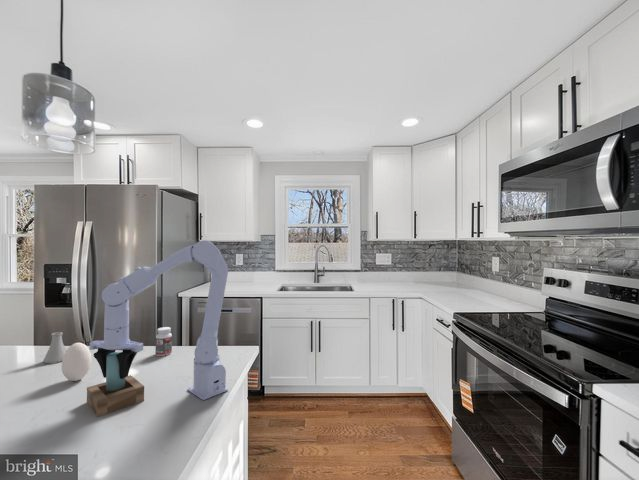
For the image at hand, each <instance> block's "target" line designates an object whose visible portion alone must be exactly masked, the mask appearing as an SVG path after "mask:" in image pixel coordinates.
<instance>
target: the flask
mask: <svg viewBox="0 0 639 480" xmlns="http://www.w3.org/2000/svg"><path fill="white" fill-rule="evenodd" d="M63 334H64V333H63V332H62V331H56V332H53V333H51V334H50V336H51V342H50V345H49V347H48V350H47V352H46V354H45V356H44V358H43V361H42V363H44V364H56V363H60V362H61V363H62V359H63V357H64V354H65V352H66V351H67V350H66V347H65V344H64V342H63Z"/></svg>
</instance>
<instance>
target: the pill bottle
mask: <svg viewBox="0 0 639 480" xmlns="http://www.w3.org/2000/svg"><path fill="white" fill-rule="evenodd" d="M171 329H172V328H171V327H170V326H164V327H159V328H157V334H156V335H155V356H156V357H166V356H168V355H169V356H170V355H171V354H172V352H173V351H172V350H173V335H172V334H173V333H171V331H172V330H171ZM165 355H166V356H165Z"/></svg>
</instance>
